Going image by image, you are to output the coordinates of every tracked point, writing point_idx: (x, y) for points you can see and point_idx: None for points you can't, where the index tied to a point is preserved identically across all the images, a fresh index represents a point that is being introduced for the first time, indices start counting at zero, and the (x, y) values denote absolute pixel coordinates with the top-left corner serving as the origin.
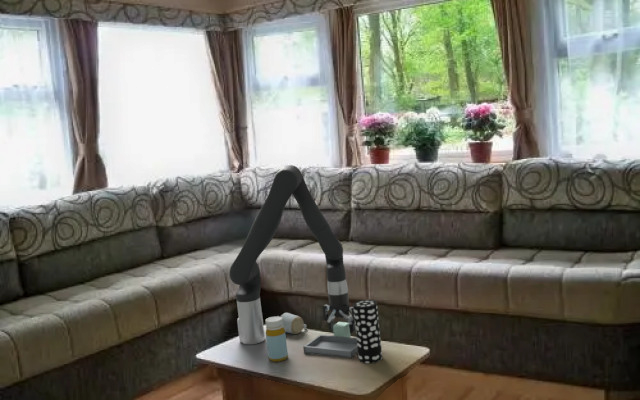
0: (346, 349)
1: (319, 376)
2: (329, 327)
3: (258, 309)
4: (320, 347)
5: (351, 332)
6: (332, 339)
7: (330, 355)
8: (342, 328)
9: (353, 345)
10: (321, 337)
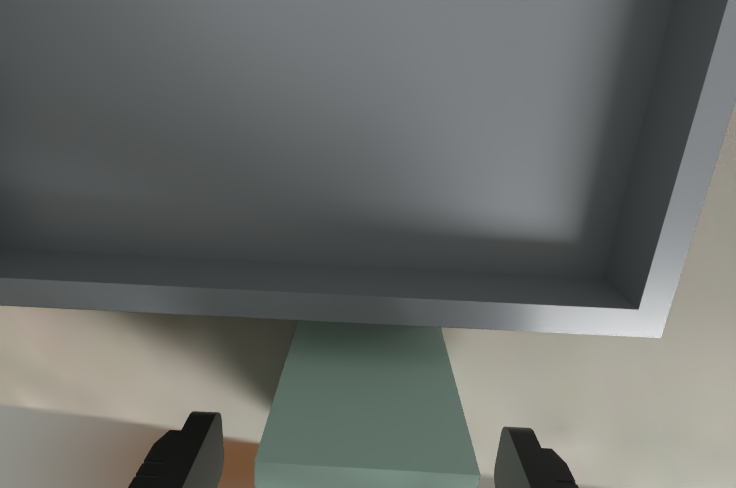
0: (97, 24)
1: None
2: (562, 482)
3: None
4: None
5: (188, 421)
6: (438, 279)
7: None
8: (289, 439)
9: (92, 188)
10: (614, 296)
